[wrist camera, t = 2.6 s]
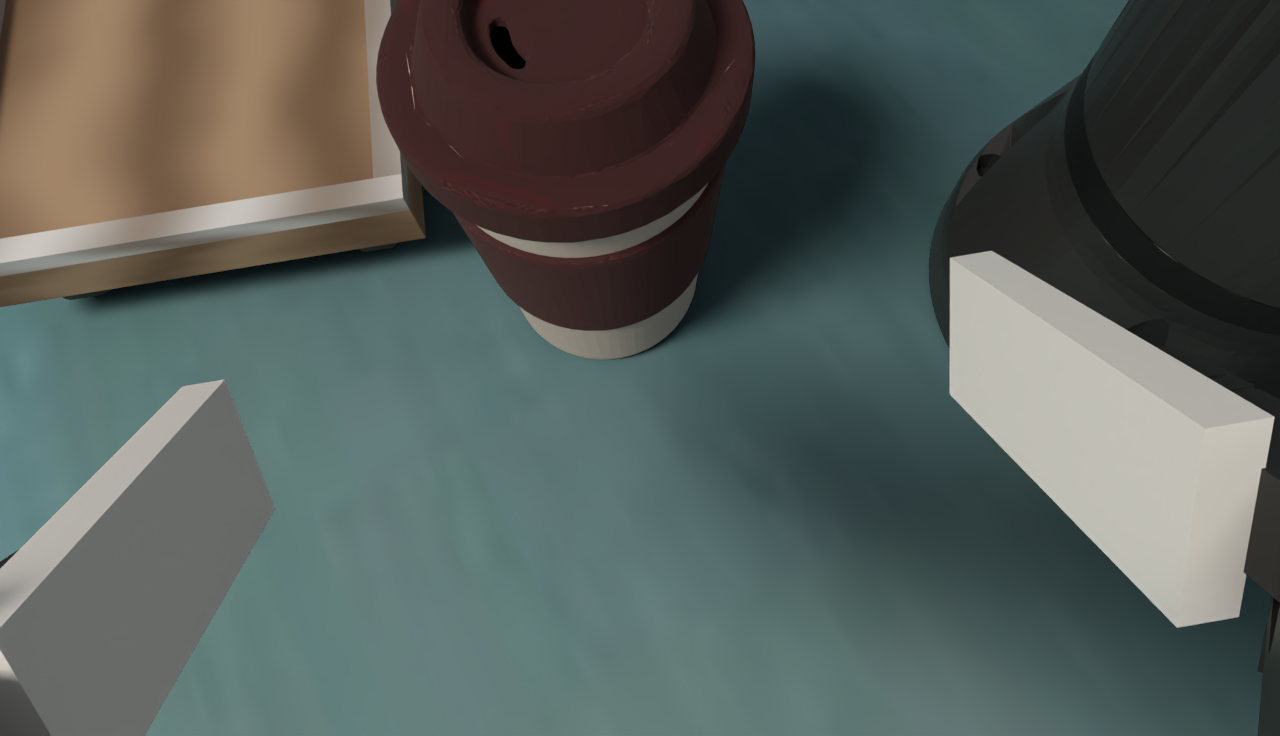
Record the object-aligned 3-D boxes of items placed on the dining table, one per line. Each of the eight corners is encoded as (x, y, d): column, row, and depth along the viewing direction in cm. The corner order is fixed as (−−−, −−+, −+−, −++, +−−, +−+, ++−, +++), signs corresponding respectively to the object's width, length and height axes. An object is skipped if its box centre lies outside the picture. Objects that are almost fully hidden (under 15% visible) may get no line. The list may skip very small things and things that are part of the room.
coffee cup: (739, 186, 36) (775, -138, 22) (717, 408, 32) (743, 193, 18) (509, 168, 37) (402, -155, 23) (465, 382, 33) (305, 158, 19)
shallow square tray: (420, -35, 41) (380, -145, 36) (446, 274, 35) (402, 197, 29) (72, 20, 41) (-22, -82, 35) (37, 341, 35) (-83, 276, 29)
